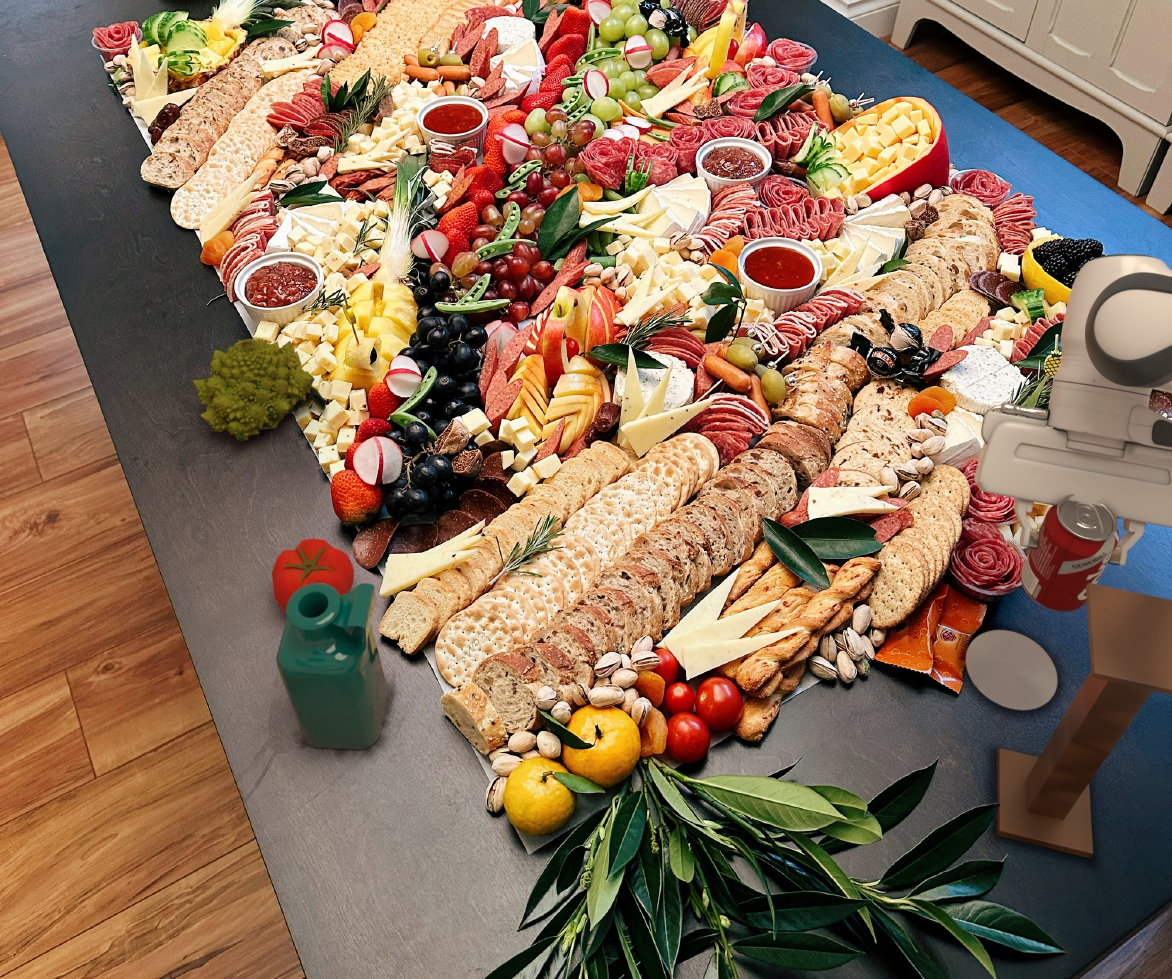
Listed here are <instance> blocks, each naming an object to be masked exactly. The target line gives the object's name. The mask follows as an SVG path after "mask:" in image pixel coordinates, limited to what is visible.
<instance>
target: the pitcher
mask: <svg viewBox="0 0 1172 979" xmlns="http://www.w3.org/2000/svg"><path fill="white" fill-rule="evenodd" d="M375 606H376V586H375V584H372V583H370V582H364V583H359V584H357V585H356V586H355V587H354V588H353V589H352V590H350V591H348V593H346V594H344V595H341V596H340V594H339V593H338V592H337V590H336V589H335V588H334V587H332V586H330V585H327V584H325V583H312V584H309V585H305V586H303V587H301V588H300V589H298V590H297V591H295V592H294V593H293V595H292V596H291V597H290V599H289V600H288V603H287V607H286V610H285V611H286V613H285V616H286V620H285V624H284V627H283V632H282V634H281V638H280V643H279V646H278V650H277V654H276V658H275V661H276V667H277V670H278V673H279V675H280V678H281V680H282V683H283V686H284V689H285V691H286V694H287V697H288V700H289V702H290V705H291V707H292V709H293V710H292V711H293V713H294V715H295V718H296V721H297V723H298V726H299V729H300V731H301V735H302V736H303V739H304V740H305V742H306V743H307V744H308V745H309V746H310V747H313V748H317V749H319V748H320V749H341V750H364V749H368V748H370V747H371V746H373V745H374V744H376V742H377V741H378V739H379V738H380V736H381V733H382V728H383V723H384V718H385V712H386V708H387V707H386V706H387V702H388V697H389V689H388V685H387V681H386V677H385V672H384V668H383V665H382V660H381V658H380V657H381V656H380V652H379V648H378V645H377V642H376V636H375V633H374V629H373V625H372V619H373V616H374V610H375Z"/></svg>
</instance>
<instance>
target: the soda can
mask: <svg viewBox="0 0 1172 979" xmlns="http://www.w3.org/2000/svg"><path fill="white" fill-rule="evenodd" d="M1072 496H1074V494H1072V495H1068V496H1066V497H1064V498H1063V499H1062V500H1061V501H1060V502H1059V504H1058V505H1056V506H1054V505H1051V506H1050V507H1049V508H1048V510H1047V511H1046V513H1045V516H1044V519H1043V520H1042V522H1041V525H1040V527H1039V528H1038V531H1039V532H1040V537H1039V540H1038V543H1039V544H1038V548H1037V549H1032V548H1030V550H1029V552H1028V554H1027V556H1026V559H1025V561H1024V562H1023V565H1022V567H1021V569H1020V582H1021V586H1022V588H1023V589H1024V591H1025V593H1026V594H1027V595H1028V597H1029V598H1030V599H1031V600H1033V601H1034V602H1035V603H1036V604H1038V605H1039V606H1041V607H1043V608H1045V609H1048V610H1050V611H1053V612H1058V613H1071V612H1075V611H1077V610H1080V609H1081V608H1083V607H1084V606H1085V605H1086V604H1087V598H1086V587H1087V585H1088V583H1092V584H1097V585H1098V582H1099V580H1100V578H1101V576H1102V574H1103V572H1104V570H1105V569H1106V567H1107V566H1108V561H1109V559H1110V557H1111V556H1112V554H1113V552H1114V550H1115V548H1116V546H1117V544H1118V542H1119V541H1120V540H1119V539H1120V533H1119V529H1118V527H1119V521H1118V518H1117V517H1116V515H1115V513H1114V511H1113V510H1112V509H1111V508H1110V507H1109V506H1108V505H1107V504H1106V503H1105V502H1103V501H1102V500H1100V499H1098V500H1099V501H1100V503H1101V504H1100V506H1098V505H1094V504H1090V505H1086V504H1081V503H1080V502H1078V501H1072V500H1071V501H1069V500H1070V497H1072Z"/></svg>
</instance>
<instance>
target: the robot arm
mask: <svg viewBox="0 0 1172 979" xmlns="http://www.w3.org/2000/svg"><path fill="white" fill-rule="evenodd" d="M1068 296H1069V297H1068V301H1067V304H1066V309H1065V312H1064V318H1063V322H1062V328H1061V334H1060V345H1061V358H1060V363H1059V366H1058V368H1057V369H1056V372H1055V373H1054V375H1053V380H1052V385H1051V391H1050V397H1049V403H1048V408H1047V409H1046V408H1041V407H1035V406H1023V405H1018V404H1016V403H1013V402H1002V403H1001V404H1000V405H999V404H998V405H994V406H992V407H990V408H988V410H986V412H985V413H984V415H983V417H982V423H981V427H980V435H981V438H982V441H983V445H982V448H981V451H980V454H979V457H978V461H977V464H976V468H975V473H974V478H973V479H974V483H975V485H976V486H977V488H978V489H979V490H980V491H981V492H983V493H986V494H991V495H996V496H1000V497H1001V496H1002V497H1006V498H1013V499H1014V502H1013V511H1014V514H1015V516H1016V519H1017V522H1018V523H1019V527H1020V528H1021V530H1020V535H1019V546H1020V547H1022V548H1027V549H1031V548H1032V549H1037V548H1038V544H1039V543H1038V540H1039V537H1040V532H1039V530H1038V529H1035V528H1034V529H1033V528H1032V525H1031V524H1030V521H1029V518H1028V514H1027V513H1031V514H1032V513H1033V508H1034V503H1039V504H1044V505H1049V506H1053V505H1054V506H1056V505H1058V504H1059V502H1060V501H1061V500H1062V499H1063V498H1064V497H1066V496H1068V495H1072V494H1074V496H1072V497H1070V500H1069V501H1071V500H1072V501H1078V502H1080V503H1081V504H1086V505H1090V504H1094V505H1098V506H1100V504H1101V503H1100V501H1099V500H1098V499H1100V500H1102V501H1103V502H1105V503H1106V504H1107V505H1108V506H1109V507H1110V508H1111V509H1112V510H1113V511H1114V513H1115V515H1116V517H1117V519H1123V523H1122V529H1124V530H1125V531H1126V533H1125V534H1123V536H1122V537H1121V539H1120V540H1119V541H1118V544H1117V546H1116V548H1115V550H1114V552H1113V554H1112V556H1111V557H1110V559H1109V561H1108V563H1107V565H1113V566H1117V567H1123V568H1124V567H1125V566H1126V562H1127V557H1128V551H1129V550H1131V549H1132V548H1133V546H1135V545H1136V543H1138V541H1139V540H1140V539H1141V538H1142V537H1143V536H1144V533H1145V528H1146V524H1149V525H1155V526H1158V527H1159V526H1160V527H1165V528H1170V529H1172V419H1170V418H1168V417H1167V416H1164V415H1162V414H1160V413H1158V412H1155V411H1154V410H1152V409H1150V407H1149V405H1150V399H1151V394H1152V391H1153V390H1156V391H1160V392H1164V393H1169V394H1172V270H1171V269H1170V268H1169V267H1168V265H1167V264H1166V263H1165V262H1164V261H1163V260H1161V259H1160V258H1157V257H1155V256H1151V255H1148V254H1140V253H1133V254H1132V253H1114V254H1107V255H1102V256H1099V257H1094V258H1093V259H1092V260H1089V261H1087V262H1086V263H1085V264H1083V266H1082V267H1081V268H1080V270H1079V271H1078V273H1077V275H1076V277H1075V279H1074V282H1073V284H1072V287H1071V291H1070V294H1069V295H1068ZM997 410H999V411H1000V412H997Z"/></svg>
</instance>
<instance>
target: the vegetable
mask: <svg viewBox="0 0 1172 979" xmlns="http://www.w3.org/2000/svg"><path fill="white" fill-rule="evenodd" d="M226 350H227V351H226V352H223V351H221V350H219V349H216V350H214V352H213V356H212V360H211V361H209V364H210V367H211V368H209V370H210V372H208V374H209V375H210V377H209V378H203V379H193V380H192V383H193V385H194V387H195V389H196V391H197V393H198V394H197V396H198V397H199V400H201V404H202V405H205V406H206V410H205V412H203V413H201V414H200V415H199V416H200V417H201V418H202V419H203V420H204V421H205V422H206V423H207V424H208V425H209V426H210V427H211V432H217V433H222V432H224V431H225V432H226V431H227V432H228V433H230V435H233V436H235V437H236V440H237V441H239V442H246V441H248V439H249V437H250V436H256V435H259V434H260V430H268V429H276V428H278V426H279V423H280V422H281V421H282V420H283V419H284V418H285V417H286V416H287V415H289V414H290V413H296V412H297V411H298V409H301V408H304V407H306V406H309V405H310V404H311V403H313V404H314V405H316V407H317V408H318V409H320V410H321V411H325V410H327V409H326V407H327V403H328V400H327V399H326V398H324V397H323V396H322V394H321V393H320V392H319V390H318V389H317V388H315V387H314V386H313V383H314V381H315V377H314V376H313V375H312V374H311V373H310V372H309V371H307V370H304V369H303V366H302V362H301V359H300V355H299V352H298V350H297V351H295V347H294V344H293V343H292V342H291V341H290V340H288V342H286V343H285V344H283V345H282V347H280V345H279V340H278V341H275V342H273V343H270V342H267V339H266V340H264V338H260V337H259V338H257V339H255V337H252V338H246V339H241V340H240V339H238V341H237V342H234V346H228V348H227V349H226Z"/></svg>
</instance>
